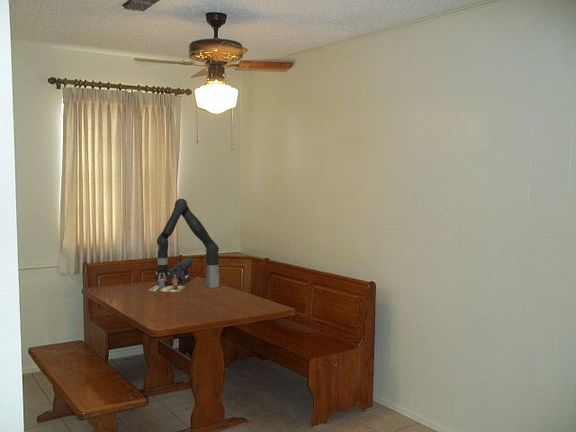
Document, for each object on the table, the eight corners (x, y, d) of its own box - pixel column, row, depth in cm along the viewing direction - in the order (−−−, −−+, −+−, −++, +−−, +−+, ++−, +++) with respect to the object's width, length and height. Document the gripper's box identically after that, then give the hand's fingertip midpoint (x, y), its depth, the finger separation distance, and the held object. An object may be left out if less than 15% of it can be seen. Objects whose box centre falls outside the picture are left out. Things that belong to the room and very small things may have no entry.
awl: (178, 289, 404) (177, 274, 403) (176, 290, 400) (176, 275, 400) (173, 288, 404) (173, 274, 403) (171, 289, 401) (171, 275, 400)
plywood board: (185, 287, 414) (185, 286, 414) (179, 291, 400) (179, 290, 399) (155, 286, 416) (155, 285, 416) (149, 291, 401) (149, 289, 401)
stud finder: (166, 285, 414) (166, 278, 414) (164, 287, 408) (164, 279, 408) (161, 285, 415) (161, 278, 414) (159, 287, 409) (158, 279, 408)
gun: (194, 281, 438) (194, 257, 437) (172, 288, 413) (172, 262, 411) (187, 280, 441) (187, 256, 440) (165, 287, 416) (165, 261, 414)
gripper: (173, 263, 414) (173, 285, 415) (155, 262, 415) (155, 284, 416) (170, 264, 406) (170, 287, 407) (151, 264, 407) (152, 286, 408)
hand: (162, 285), depth 412 cm, fingers closed on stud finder, 4 cm apart
